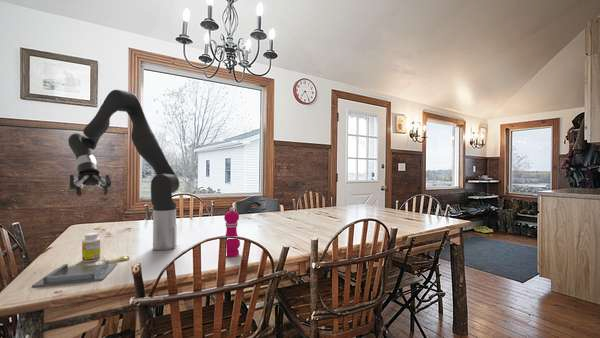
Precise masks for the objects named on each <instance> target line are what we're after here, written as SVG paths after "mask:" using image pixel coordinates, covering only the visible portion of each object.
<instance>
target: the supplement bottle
mask: <svg viewBox="0 0 600 338" xmlns="http://www.w3.org/2000/svg"><path fill="white" fill-rule="evenodd" d="M81 243H82V244H81V245H82V246H81V249H82V250H81V251H82V252H81V253H82V254H81V255H82V256H81V259H82V262H84V263H92V262H96V261H98V260H100V259H101V238H100V237H99V233H98V232H89V233H85V234H84V239H83V240H82V242H81Z"/></svg>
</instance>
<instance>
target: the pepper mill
mask: <svg viewBox="0 0 600 338" xmlns="http://www.w3.org/2000/svg"><path fill="white" fill-rule="evenodd" d="M223 219H224V221H225V227H226V233H225V236H238V232H237V231H238V230H237V229H238V228H237V227H238V221H239V220H240V214H239V212H238V211H235V207H232V206H231V207H229V210H228V211H227V212H226V213H224V217H223ZM225 236H224V237H225ZM238 237H239V236H238ZM240 246H241V241H240V239H239V240H238V239H228V240H227V257H226V258H234V257H238V256H239V254H240V250H239V248H240Z"/></svg>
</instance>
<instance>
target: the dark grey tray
mask: <svg viewBox="0 0 600 338" xmlns="http://www.w3.org/2000/svg"><path fill="white" fill-rule="evenodd" d="M108 261H109V260H104V261H103V262H102V263H101V264H91V265H90V264H89V265H79V266H68V263H64V264H62V265H61V266H59V267H57V268H56V269H54V270H53V271H51V272H49V273H48V274H46V275H45V276H44V277H42V278H40V279H39V280H38V281H36V282H35V283H33V284H32V285H31V288H40V287H48V286H58V285H67V284H79V283H80V284H81V283H85V282H86V283H87V282H90V283H91V282H97V281H103V280H104V279H106V278H107V277H108V275H109V274H110V273H111V272H112V271H113V270H114V269H115V268H116V267H117V266H118V262H115V263H111V264H109V263H108Z"/></svg>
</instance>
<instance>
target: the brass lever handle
mask: <svg viewBox="0 0 600 338" xmlns="http://www.w3.org/2000/svg"><path fill="white" fill-rule="evenodd" d="M129 260H130V256H129V255H125V256H121V257H119V258H118V257H117V258H114V259H110V260H107V261H108V264H111V263H118V262H126V261H129Z"/></svg>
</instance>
